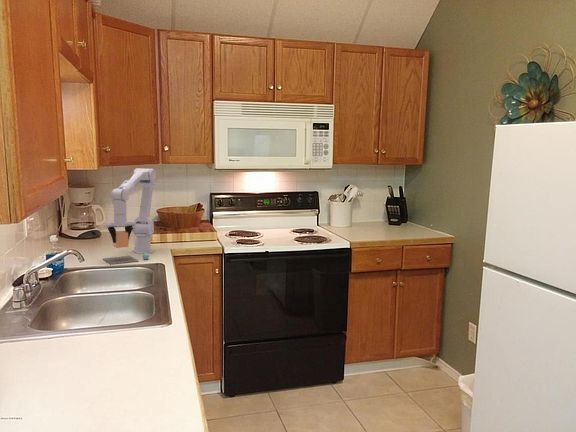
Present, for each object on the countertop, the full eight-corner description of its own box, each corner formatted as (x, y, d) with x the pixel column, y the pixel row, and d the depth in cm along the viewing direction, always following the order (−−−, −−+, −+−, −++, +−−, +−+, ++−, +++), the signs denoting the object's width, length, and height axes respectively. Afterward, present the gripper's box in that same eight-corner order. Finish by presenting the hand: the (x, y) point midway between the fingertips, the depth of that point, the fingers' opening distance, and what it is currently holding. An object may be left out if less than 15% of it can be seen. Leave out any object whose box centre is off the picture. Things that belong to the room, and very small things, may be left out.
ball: (141, 259, 222) (141, 252, 222) (148, 258, 224) (147, 252, 224) (143, 260, 220) (143, 254, 219) (150, 259, 222) (150, 253, 221)
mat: (102, 259, 220) (102, 258, 220) (129, 256, 228) (129, 255, 228) (110, 264, 210) (110, 263, 209) (138, 261, 217) (138, 260, 217)
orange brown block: (113, 245, 218) (113, 231, 217) (124, 244, 221) (124, 230, 221) (116, 247, 214) (116, 233, 213) (128, 246, 217) (128, 232, 216)
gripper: (106, 215, 208) (107, 244, 210) (138, 214, 217) (138, 242, 219) (102, 214, 214) (103, 242, 216) (133, 212, 223) (133, 239, 224)
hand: (120, 242), depth 217 cm, fingers closed on orange brown block, 5 cm apart
